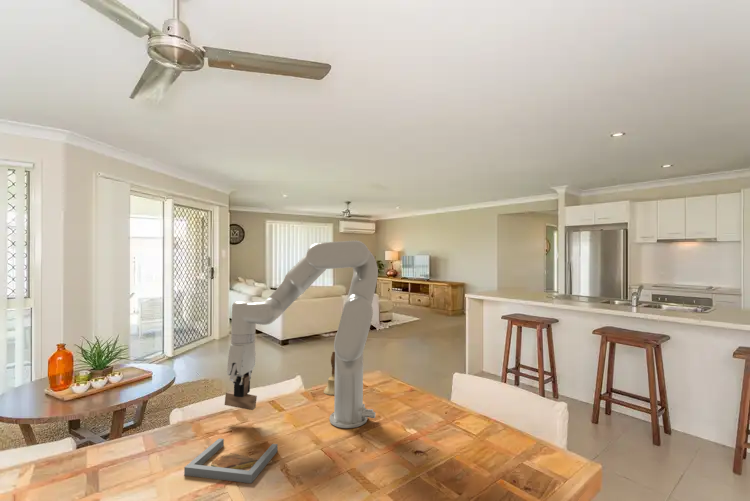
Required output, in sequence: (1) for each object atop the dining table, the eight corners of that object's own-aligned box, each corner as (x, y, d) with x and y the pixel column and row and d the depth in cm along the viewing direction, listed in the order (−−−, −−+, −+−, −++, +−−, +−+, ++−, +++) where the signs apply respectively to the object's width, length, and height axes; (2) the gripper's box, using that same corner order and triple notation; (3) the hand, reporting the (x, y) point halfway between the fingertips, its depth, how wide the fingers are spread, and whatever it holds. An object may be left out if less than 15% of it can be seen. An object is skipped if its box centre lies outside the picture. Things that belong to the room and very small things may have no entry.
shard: (261, 465, 95) (262, 458, 95) (241, 481, 88) (242, 474, 88) (229, 457, 99) (229, 450, 99) (207, 472, 91) (207, 465, 91)
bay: (277, 451, 101) (277, 444, 101) (251, 483, 86) (251, 474, 86) (218, 445, 104) (218, 438, 104) (184, 475, 89) (184, 467, 89)
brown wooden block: (256, 407, 119) (259, 377, 119) (251, 411, 116) (255, 380, 116) (228, 402, 121) (231, 372, 121) (223, 405, 118) (226, 375, 118)
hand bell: (319, 391, 146) (319, 351, 147) (336, 386, 152) (336, 348, 152) (331, 397, 140) (331, 356, 140) (348, 391, 146) (348, 352, 146)
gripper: (245, 332, 127) (244, 384, 127) (218, 343, 111) (216, 403, 111) (265, 333, 126) (264, 386, 126) (240, 344, 110) (239, 405, 110)
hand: (241, 393), depth 118 cm, fingers closed on brown wooden block, 3 cm apart
